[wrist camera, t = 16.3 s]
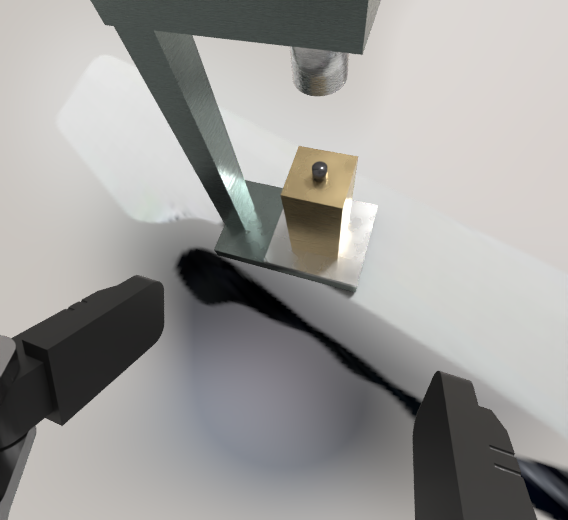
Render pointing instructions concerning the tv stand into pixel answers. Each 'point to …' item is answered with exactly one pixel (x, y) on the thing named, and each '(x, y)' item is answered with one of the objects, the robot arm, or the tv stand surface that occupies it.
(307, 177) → the block
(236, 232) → the arbor press
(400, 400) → the tv stand surface
